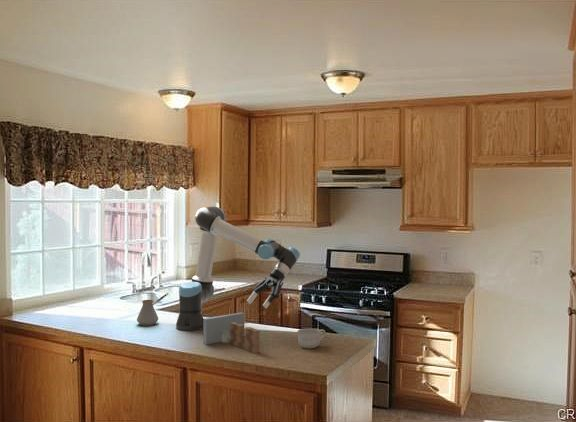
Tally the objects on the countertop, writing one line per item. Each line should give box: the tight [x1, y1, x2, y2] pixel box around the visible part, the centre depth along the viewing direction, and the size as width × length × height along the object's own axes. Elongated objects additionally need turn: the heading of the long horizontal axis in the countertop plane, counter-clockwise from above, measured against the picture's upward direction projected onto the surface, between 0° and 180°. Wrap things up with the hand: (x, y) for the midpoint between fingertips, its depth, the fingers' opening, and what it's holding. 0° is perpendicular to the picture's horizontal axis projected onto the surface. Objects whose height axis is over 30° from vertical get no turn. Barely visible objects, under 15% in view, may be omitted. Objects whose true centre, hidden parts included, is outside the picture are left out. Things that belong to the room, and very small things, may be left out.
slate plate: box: [202, 311, 245, 346], centre depth 268 cm, size 2×22×12 cm, turn 129°
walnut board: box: [229, 322, 261, 354], centre depth 255 cm, size 20×2×10 cm, turn 40°
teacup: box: [297, 327, 327, 349], centre depth 257 cm, size 14×11×8 cm
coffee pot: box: [136, 292, 171, 327], centre depth 304 cm, size 21×12×15 cm, turn 146°
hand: (256, 304), depth 280 cm, fingers open, 13 cm apart
